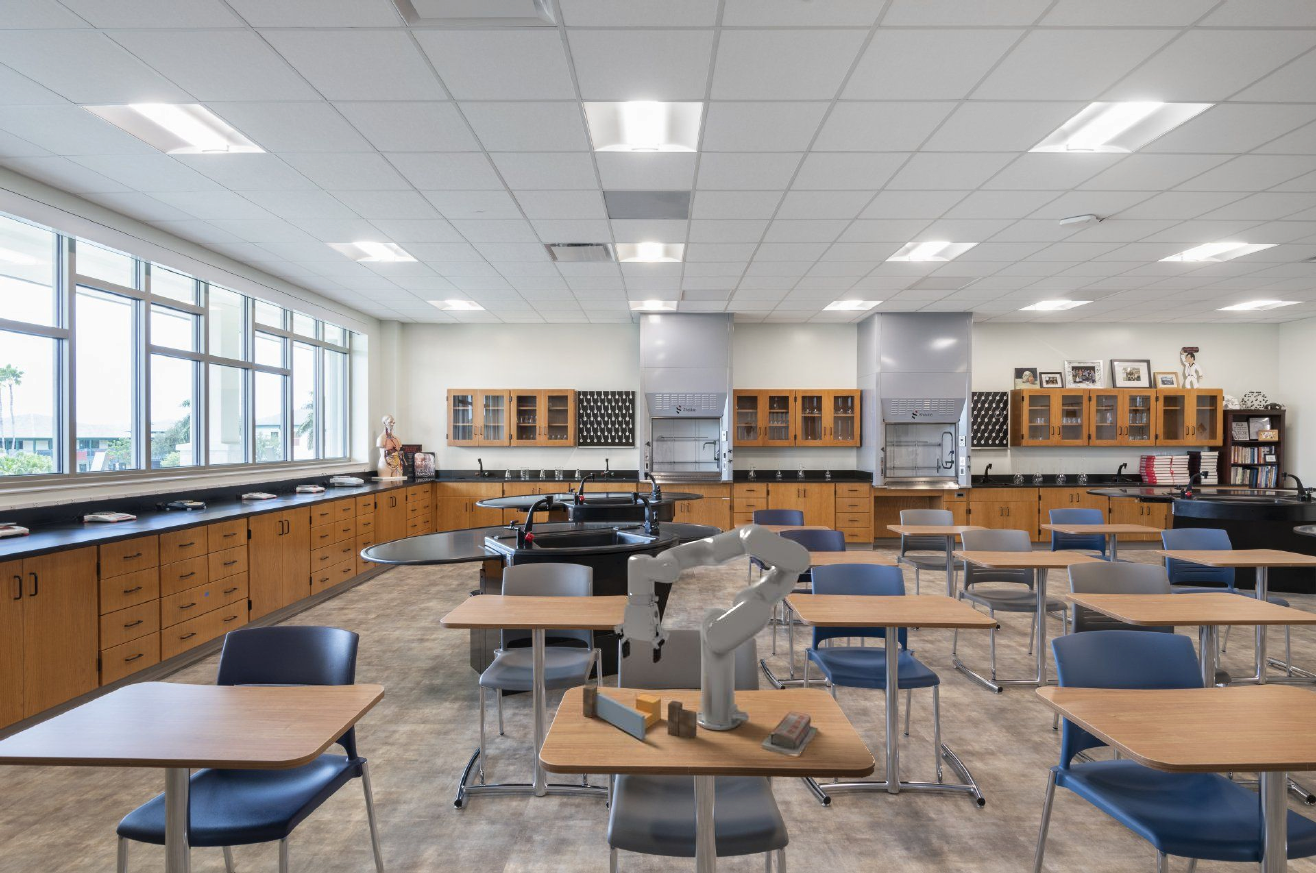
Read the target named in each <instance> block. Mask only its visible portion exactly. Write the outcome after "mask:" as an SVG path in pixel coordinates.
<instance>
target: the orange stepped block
mask: <svg viewBox="0 0 1316 873" xmlns="http://www.w3.org/2000/svg"><path fill="white" fill-rule="evenodd" d="M634 710H635V711H637V712H639V713H641V714H643V715H645V730H646V729H647V728H649V727H650V726H652V725H654V724H655V723H656V722H658V721H659V720H661V719H662V714H661V713H662V698H660V697H656V696H653V695H649V694H647V693H646V694H645V693H644V694H641V695H639V696H638V697H636V698H635V709H634Z"/></svg>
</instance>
